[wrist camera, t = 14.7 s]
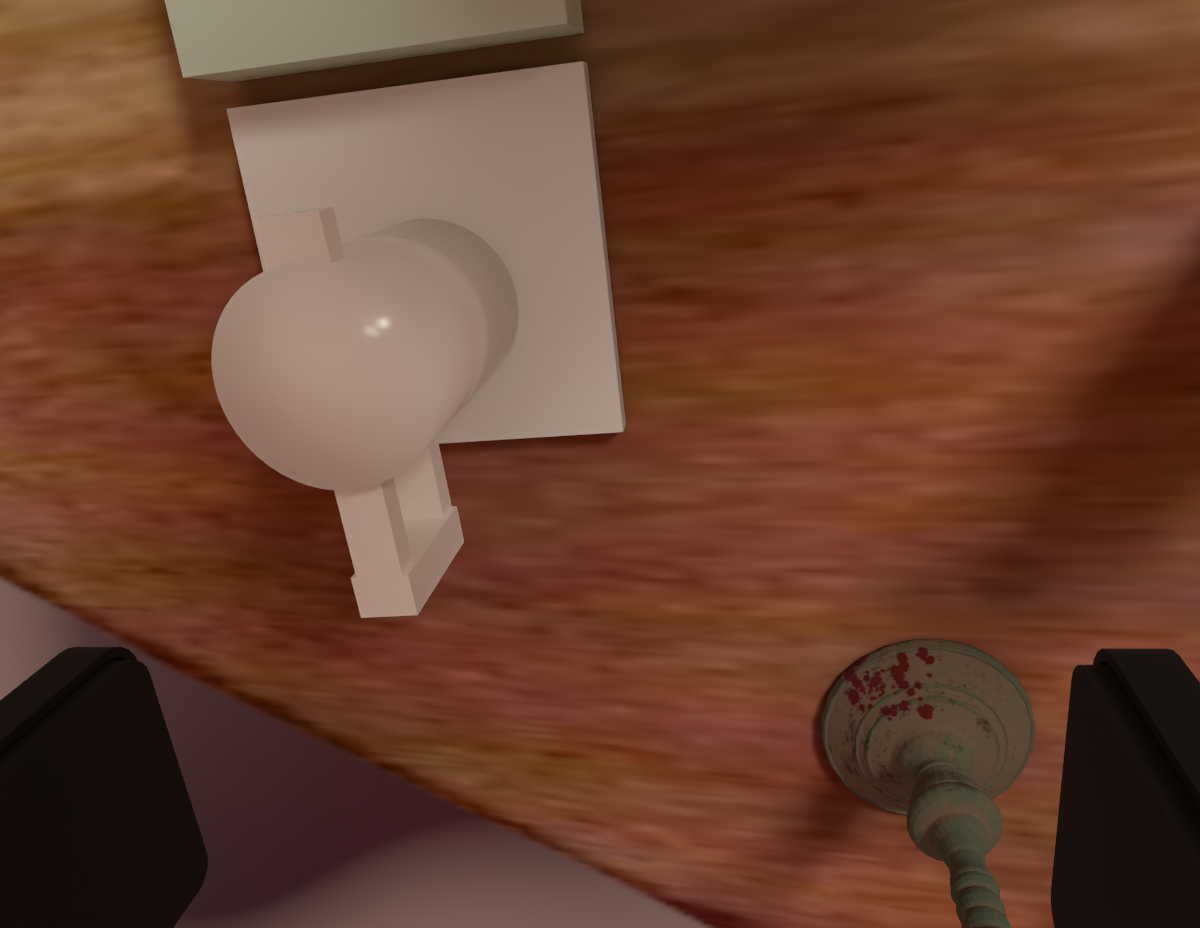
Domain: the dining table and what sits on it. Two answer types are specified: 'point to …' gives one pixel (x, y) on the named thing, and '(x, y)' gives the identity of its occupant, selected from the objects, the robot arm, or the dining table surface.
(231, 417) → the capsule with loop handle
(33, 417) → the dining table surface
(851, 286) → the dining table surface
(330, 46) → the holder
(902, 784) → the candlestick holder
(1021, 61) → the dining table surface
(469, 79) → the tile
